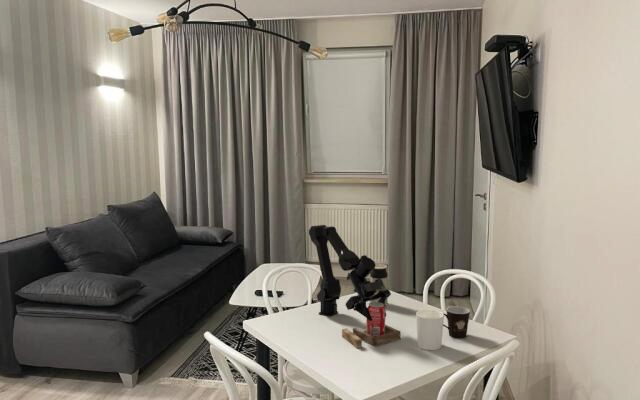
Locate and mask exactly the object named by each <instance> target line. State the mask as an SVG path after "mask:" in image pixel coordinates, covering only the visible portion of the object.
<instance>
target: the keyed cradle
mask: <svg viewBox="0 0 640 400" xmlns="http://www.w3.org/2000/svg"><path fill="white" fill-rule="evenodd" d="M352 333H354V334H355V335H356V336H358V337H359V338H360V339H362V342H364V343H366V344H368V345H370V346H371V347H378V346H380V345H384V344H388V343H391V342H395V341H398V340H401V331H400V330H398V329H396V328H393V327H391V326H389V325H387V324H385V332H384V334H383V335H380V336H376V337H374V336H372V335H370V334H368V333H367V332H366V330H364V331H363V330H362V329H359V328H357V327H353V328H352Z"/></svg>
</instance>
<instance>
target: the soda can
mask: <svg viewBox="0 0 640 400" xmlns="http://www.w3.org/2000/svg"><path fill="white" fill-rule="evenodd" d="M367 309H368V311H369V313H370V316H371V318H372V321H370V320H368V319H367V318H366V322H365V324H366V327H365V331H366V332H367V333H368V334H370V335H372V336H374V337H376V336H380V335H383V334H384V332H385V325H386V317H385V310H386V306H385V307H384V304H383V303H380V302H371V303H370V302H369V303H368V306H367Z"/></svg>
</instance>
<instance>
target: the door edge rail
mask: <svg viewBox="0 0 640 400" xmlns="http://www.w3.org/2000/svg"><path fill="white" fill-rule="evenodd" d="M341 337H342V338H343V339H344V340H346V341H347V342H348V343H350V345H352V346H353V347H355V348H356V349H361V348H362V347H363V341H362V339H360V338H359V337H358V336H356V335H355V334H354V333H353V331H351V330H350V329H348V328H342V329H341Z"/></svg>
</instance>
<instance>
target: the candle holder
mask: <svg viewBox="0 0 640 400" xmlns="http://www.w3.org/2000/svg"><path fill="white" fill-rule="evenodd" d="M444 314H445V313H444ZM444 314H443V312H441V311H438V310H435V309H420V310H417V312H415V316H416V317H415V318H416V332H417V333H416V334H417V335H416V336H417V338H416V339H417V346H418V347H419V348H420V349H423V350H425V351H438V350H440V349H441V348H442V343H443V341H442V340H443V330H444V326H443V324H444V317H445V315H444Z"/></svg>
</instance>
